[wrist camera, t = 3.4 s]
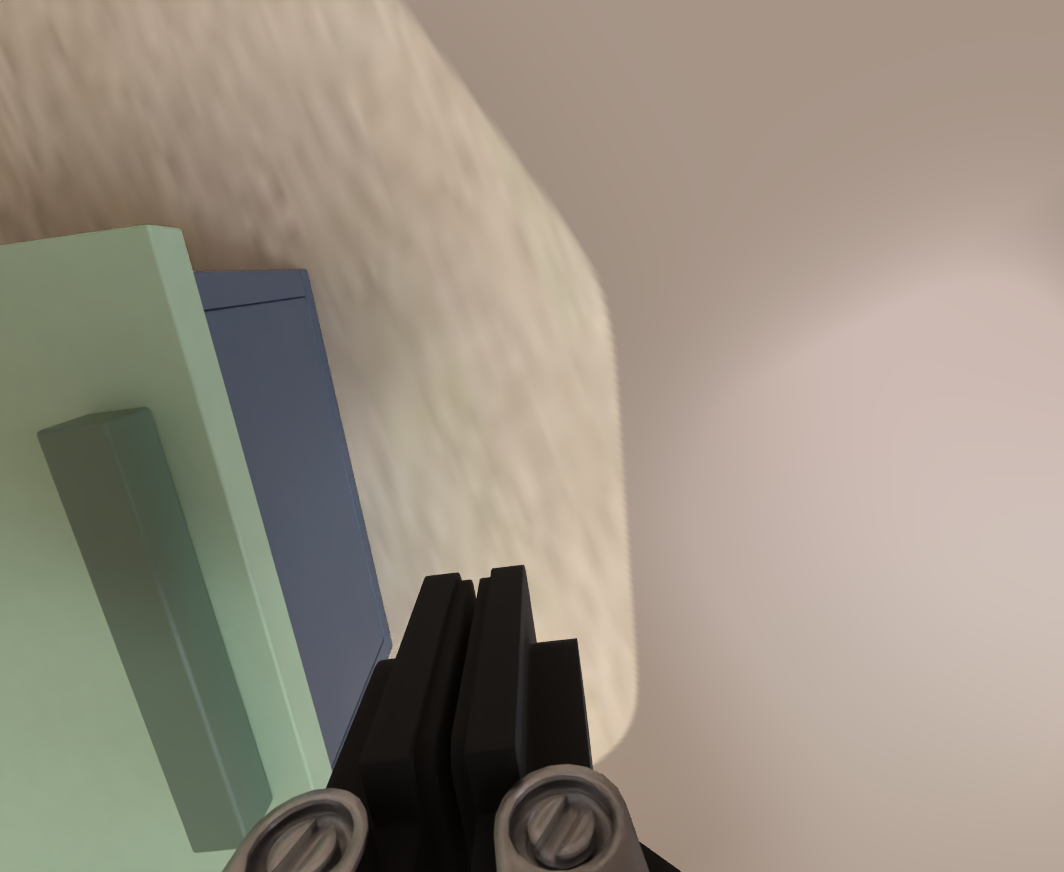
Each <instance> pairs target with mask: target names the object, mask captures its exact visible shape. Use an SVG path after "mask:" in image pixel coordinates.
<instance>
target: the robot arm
mask: <svg viewBox="0 0 1064 872" xmlns="http://www.w3.org/2000/svg"><path fill="white" fill-rule="evenodd" d="M222 872H681V871H680V870H678V869H677V868H675V867H674V866H673V865H671V864H670V863H668V862H667V861H666V860H664V859H663V858H661V857H660V856H659V855H657V854H656V853H654V852H653V851H652V850H650V849H649V848H647V847H646V846H645V845H643V844H642V843H641V842H639V841H638V837H637V834H636V831H635V829H634V826H633V823H632V820H631V817H630V814H629V811H628V808H627V805H626V803H625V801H624V799H623V797H622V795H621V794H620V792H619V790H618V788H617V787H616V786H615V785H614V784H613V783H612V782H610V780H608V779H607V778H606V777H605V776H604V775H603V774H600V773H598V772H596V771H594V770H593V765H592V756H591V747H590V738H589V729H588V721H587V712H586V704H585V696H584V688H583V680H582V672H581V665H580V657H579V649H578V642H577V638H576V639H567V640H558V641H549V642H540V643H537V641H536V635H535V628H534V622H533V615H532V609H531V602H530V595H529V589H528V582H527V576H526V570H525V566H524V565H518V566H509V567H501V568H493V569H492V570H491V576H490V577H489V578H481V579H480V582H479V587H478V592H477V598H476V596H475V590H474V585H473V582H472V580H463V581H462V579H461V576H460V574H459V573H449V574H441V575H432V576H426V577H425V579H424V581H423V584H422V587H421V589H420V592H419V595H418V598H417V600H416V603H415V606H414V609H413V612H412V614H411V617H410V620H409V623H408V625H407V628H406V631H405V634H404V636H403V639H402V642H401V645H400V648H399V650H398V653H397V656H396V658H395V659H386V660H381V661H379V662H378V663H377V664H376V666H375V668H374V670H373V673H372V675H371V678H370V680H369V683H368V685H367V687H366V690H365V692H364V695H363V697H362V700H361V702H360V705H359V707H358V710H357V712H356V715H355V717H354V720H353V722H352V724H351V727H350V729H349V732H348V734H347V737H346V739H345V742H344V744H343V747H342V749H341V752H340V754H339V757H338V759H337V762H336V764H335V766H334V769H333V771H332V774H331V776H330V779H329V781H328V784H327V786H326V788H325V789H316V790H312V791H309V792H306V793H303V794H300V795H297V796H294V797H293V798H291V799H289V800H287V801H286V802H284V803H282V804H280V805H279V806H277V807H275V808H274V809H273V810H271V811H270V812H269V813H268V814H267V815H266V816H264V817H263V818H262V819H261V820H260V821H258V822H257V823H256V824H255V826H254V827H253V828H252V829H251V831H250V832H249V833H248V834H247V835H246V837H245V838H244V839H243V840H242V842H241V843H240V845H239V846H238V848H237V849H236V851H235V852H234V854H233V855H232V857H231V858H230V860H229V861H228V863H227V864H226V866H225V867H224V869H223V870H222Z"/></svg>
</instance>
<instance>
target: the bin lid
mask: <svg viewBox="0 0 1064 872" xmlns="http://www.w3.org/2000/svg"><path fill="white" fill-rule="evenodd" d="M331 774H332V769H331V765H330V762H329V758H328V755H327V751H326V748H325V744H324V740H323V737H322V733H321V730H320V726H319V722H318V719H317V715H316V712H315V708H314V704H313V701H312V697H311V694H310V690H309V687H308V683H307V679H306V676H305V672H304V669H303V665H302V661H301V658H300V654H299V651H298V647H297V643H296V640H295V636H294V633H293V629H292V625H291V622H290V618H289V615H288V611H287V608H286V604H285V600H284V597H283V593H282V590H281V586H280V582H279V579H278V575H277V572H276V568H275V564H274V561H273V557H272V554H271V550H270V546H269V543H268V539H267V536H266V532H265V529H264V525H263V521H262V518H261V514H260V511H259V507H258V503H257V500H256V496H255V493H254V489H253V485H252V482H251V478H250V475H249V471H248V468H247V464H246V460H245V457H244V453H243V450H242V446H241V442H240V439H239V435H238V432H237V428H236V424H235V421H234V417H233V414H232V410H231V406H230V403H229V399H228V396H227V392H226V389H225V385H224V381H223V378H222V374H221V371H220V367H219V363H218V360H217V356H216V353H215V349H214V345H213V342H212V338H211V335H210V331H209V327H208V324H207V320H206V317H205V313H204V310H203V306H202V302H201V299H200V295H199V292H198V288H197V284H196V281H195V277H194V274H193V270H192V266H191V263H190V259H189V256H188V252H187V249H186V245H185V241H184V238H183V234H182V231H181V229H180V228H178V227H170V226H160V225H150V224H143V225H136V226H129V227H122V228H115V229H108V230H101V231H94V232H87V233H80V234H74V235H67V236H60V237H53V238H46V239H39V240H32V241H25V242H18V243H11V244H4V245H0V872H222V870H223V869H224V867H225V866H226V864H227V863H228V861H229V860H230V858H231V857H232V855H233V854H234V852H235V851H236V849H237V848H238V846H239V845H240V843H241V842H242V840H243V839H244V838H245V837H246V835H247V834H248V833H249V832H250V831H251V829H252V828H253V827H254V826H255V824H256V823H257V822H258V821H260V820H261V819H262V818H263V817H264V816H266V815H267V814H268V813H269V812H270V811H271V810H273V809H274V808H275V807H277V806H279V805H280V804H282V803H284V802H286V801H287V800H289V799H291V798H293V797H294V796H297V795H300V794H303V793H306V792H309V791H312V790H316V789H325V788H326V786H327V784H328V781H329V779H330V776H331Z"/></svg>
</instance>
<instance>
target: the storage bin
mask: <svg viewBox="0 0 1064 872" xmlns="http://www.w3.org/2000/svg"><path fill="white" fill-rule="evenodd" d="M193 274H194V277H195V281H196V284H197V288H198V292H199V295H200V299H201V302H202V306H203V310H204V313H205V317H206V320H207V324H208V327H209V331H210V335H211V338H212V342H213V345H214V349H215V353H216V356H217V360H218V363H219V367H220V371H221V374H222V378H223V381H224V385H225V389H226V392H227V396H228V399H229V403H230V406H231V410H232V414H233V417H234V421H235V424H236V428H237V432H238V435H239V439H240V442H241V446H242V450H243V453H244V457H245V460H246V464H247V468H248V471H249V475H250V478H251V482H252V485H253V489H254V493H255V496H256V500H257V503H258V507H259V511H260V514H261V518H262V521H263V525H264V529H265V532H266V536H267V539H268V543H269V546H270V550H271V554H272V557H273V561H274V564H275V568H276V572H277V575H278V579H279V582H280V586H281V590H282V593H283V597H284V600H285V604H286V608H287V611H288V615H289V618H290V622H291V625H292V629H293V633H294V636H295V640H296V643H297V647H298V651H299V654H300V658H301V661H302V665H303V669H304V672H305V676H306V679H307V683H308V687H309V690H310V694H311V697H312V701H313V704H314V708H315V712H316V715H317V719H318V722H319V726H320V730H321V733H322V737H323V740H324V744H325V748H326V751H327V755H328V758H329V762H330V765H331V769H332V771H333V769H334V766H335V764H336V762H337V759H338V757H339V754H340V752H341V749H342V747H343V744H344V742H345V739H346V737H347V734H348V732H349V729H350V727H351V724H352V722H353V720H354V717H355V715H356V712H357V710H358V707H359V705H360V702H361V700H362V697H363V695H364V692H365V690H366V687H367V685H368V683H369V680H370V678H371V675H372V673H373V670H374V668H375V666H376V664H377V663H378V662H379V661H381V660H386V659H388V657H389V654H390V652H391V649H392V642H391V638H390V633H389V629H388V625H387V620H386V616H385V611H384V607H383V603H382V598H381V594H380V589H379V585H378V581H377V576H376V572H375V567H374V563H373V559H372V554H371V550H370V545H369V541H368V537H367V532H366V528H365V523H364V519H363V515H362V510H361V506H360V501H359V497H358V493H357V488H356V484H355V479H354V475H353V471H352V466H351V462H350V457H349V453H348V449H347V444H346V440H345V435H344V431H343V427H342V422H341V418H340V413H339V409H338V405H337V400H336V396H335V391H334V387H333V383H332V378H331V374H330V369H329V365H328V361H327V356H326V352H325V347H324V343H323V339H322V334H321V330H320V325H319V321H318V317H317V312H316V308H315V303H314V299H313V295H312V290H311V286H310V281H309V277H308V273H307V270H306V269H288V270H240V271H193Z"/></svg>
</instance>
